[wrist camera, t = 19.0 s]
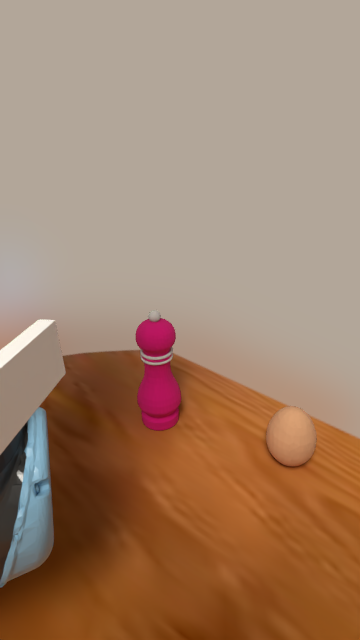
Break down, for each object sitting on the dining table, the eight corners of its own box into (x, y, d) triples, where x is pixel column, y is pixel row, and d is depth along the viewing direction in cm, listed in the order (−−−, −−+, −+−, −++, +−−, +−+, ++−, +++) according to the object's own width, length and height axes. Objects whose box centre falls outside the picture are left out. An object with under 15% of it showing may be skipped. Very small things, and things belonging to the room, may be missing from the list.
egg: (255, 461, 48) (260, 412, 44) (276, 435, 53) (282, 388, 49) (300, 487, 44) (310, 436, 40) (318, 457, 49) (329, 407, 45)
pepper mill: (185, 406, 59) (183, 302, 51) (176, 436, 53) (172, 323, 44) (146, 401, 61) (138, 299, 52) (133, 429, 54) (121, 319, 46)
